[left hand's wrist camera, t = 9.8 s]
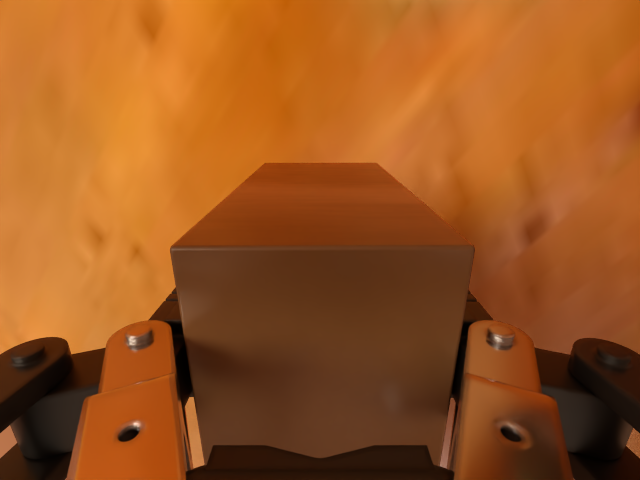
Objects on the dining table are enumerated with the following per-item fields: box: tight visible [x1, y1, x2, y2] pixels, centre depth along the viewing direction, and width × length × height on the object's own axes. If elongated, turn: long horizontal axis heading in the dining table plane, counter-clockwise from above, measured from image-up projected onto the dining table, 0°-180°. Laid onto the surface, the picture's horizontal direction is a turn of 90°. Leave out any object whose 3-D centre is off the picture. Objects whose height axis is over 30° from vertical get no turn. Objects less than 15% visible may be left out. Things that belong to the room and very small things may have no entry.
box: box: [170, 163, 475, 466], centre depth 17 cm, size 25×6×12 cm, turn 0°
